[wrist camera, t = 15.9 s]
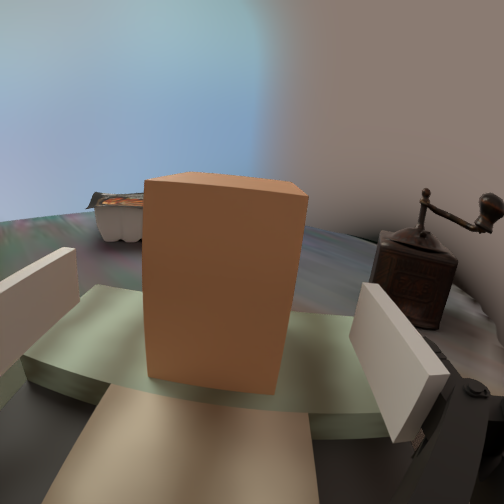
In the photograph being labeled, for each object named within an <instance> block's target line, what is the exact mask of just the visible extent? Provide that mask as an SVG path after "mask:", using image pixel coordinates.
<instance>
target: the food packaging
mask: <svg viewBox="0 0 504 504" xmlns="http://www.w3.org/2000/svg"><path fill="white" fill-rule="evenodd" d="M143 199H144V193H134V194H106V193H98V192H95V193H94V194H93V196H92V199H91V202H90V204H89V206H88V207H87V208H86V209H89V208H94V210H95V217H96V223H97V227H98V230H99V231H100V233H101V236H102V238H103V239H104V241H106V242H115V241H118V240H119V239H122V240H124V241H125V242H137V241H138V240H140V239H142V227H143Z"/></svg>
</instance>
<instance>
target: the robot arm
mask: <svg viewBox="0 0 504 504" xmlns="http://www.w3.org/2000/svg"><path fill="white" fill-rule="evenodd" d="M79 302H80V295H79V286H78V275H77V263H76V249H74V248H67V247H62V248H60V249H58V250H56V251H54V252H53V253H51V254H49V255H47V256H45V257H43V258H41V259H40V260H38V261H36V262H34V263H32V264H30V265H29V266H27V267H25V268H23V269H22V270H20V271H18V272H16V273H14V274H13V275H11V276H9V277H8V278H6V279H4V280H2V281H1V282H0V377H1V376H2V375H3V374H4V373H5V372H6V371H7V370H8V369H9V368H10V367H11V366H12V365H13V364H14V363H15V362H16V361H17V360H18V359H19V358H20V357H21V356H22V355H23V354H24V353H25V352H26V351H27V350H28V349H29V348H30V347H31V346H32V345H33V344H34V343H35V342H36V341H38V340H39V339H40V338H41V337H42V336H43V335H44V334H45V333H46V332H47V331H48V330H49V329H50V328H51V327H53V326H54V325H55V324H56V323H57V322H58V321H59V320H60V319H61V318H62V317H64V316H65V315H66V314H67V313H68V312H69V311H70V310H71V309H72V308H74V307H75V306H76V305H77V304H78V303H79ZM349 339H350V341H351V343H352V346H353V348H354V350H355V352H356V355H357V357H358V359H359V362H360V364H361V366H362V369H363V371H364V373H365V376H366V378H367V380H368V383H369V385H370V388H371V390H372V392H373V395H374V397H375V400H376V402H377V405H378V407H379V409H380V412H381V414H382V417H383V419H384V422H385V424H386V427H387V430H388V432H389V435H390V437H391V440H392V442H393V443H399V442H407V441H413V440H414V439H415V437H416V435H417V434H418V432H419V431H420V429H421V428H422V430H423V432H424V434H425V438H424V439H423V441H422V442H421V444H420V445H419V447H418V448H417V450H416V451H415V452H414V454H413V455H412V457H411V458H412V459H413V460H412V462H411V464H410V466H409V468H408V470H407V472H406V474H405V476H404V478H403V479H402V481H401V483H400V485H399V487H398V488H397V490H396V492H395V493H394V495H393V497H392V499H391V500H390V502H389V503H388V504H469V502H470V504H504V397H503V396H493V395H491V394H490V391H489V390H488V388H487V387H486V386H485V385H483V384H482V383H481V382H479V381H477V380H474V379H470V378H462V377H461V376H460V374H459V373H458V372H457V370H456V369H455V368H454V367H453V365H452V364H451V363H450V361H449V360H447V358H446V356H445V355H444V354H443V353H441V352H442V351H441V350H440V349H439V348H438V346H437V345H436V344H435V343H434V342H432V341H431V340H429V339H428V338H426V337H422V336H421V335H420V334H419V332H418V331H417V330H416V329H415V327H414V326H413V325H412V324H411V323H410V321H409V320H408V319H407V318H406V316H405V315H404V314H403V313H402V312H401V310H400V309H399V308H398V307H397V305H396V304H395V303H394V302H393V301H392V300H391V298H390V297H389V296H388V295H387V294H386V292H385V291H384V290H383V289H382V288H381V287H380V285H379V284H374V283H362V287H361V291H360V295H359V299H358V303H357V307H356V311H355V315H354V319H353V323H352V326H351V330H350V333H349Z"/></svg>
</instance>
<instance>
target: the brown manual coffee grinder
mask: <svg viewBox="0 0 504 504" xmlns="http://www.w3.org/2000/svg"><path fill="white" fill-rule="evenodd" d="M430 195H431V192H430V190H429V189H428V188H424V189H423V190H422V198H421V199H420V203H421V209H420V214H419V220H418V224H417V225H416V226H415V228H411V227H409V228H406V229H402V230H399V231H397V232H395V233H394V232H389V231H384V230H381V233H380V235H379V241H378V245H377V250H376V254H375V258H374V262H373V267H372V271H371V275H370V279H369V283H374V284H379V285H380V287H381V288H382V289H383V290H384V291H385V292H386V294H387V295H388V296H389V297H390V298H391V300H392V301H393V302H394V303H395V304H396V305H397V307H398V308H399V309H400V310H401V312H402V313H403V314H404V315H405V316H406V318H407V319H408V320H409V321H410V323H411V324H412V325H413V326H414V327H420V328H425V329H437V330H438V329H439V324H440V320H441V317H442V314H443V311H444V308H445V305H446V302H447V299H448V296H449V292H450V289H451V286H452V282H453V279H454V275H455V271H456V268H457V265H458V260H457V258H456V257H455V256H454V255H453V254H452V253H451V252H450V251H449V250H448V249H447V248H446V247H445V246H444V245H442V244H440V242H439V240H438V239H437V238H436V237H435V236H434V235H433V234H432V233H430V232H428V231H425V228H424V221H425V216H426V211H427V207H428V208H429V209H430V210H431V211H433V212H434V213H435V214H437V215H439V216H442V217H444V218H446V219H449V220H451V221H452V222H455V223H457V224H459V225H460V226H462V227H464V228H466V229H468V230H470V231H472V232H479V234H481V233H485V232H488V233H490V234H491V233H492V228H493V224H494V223H495V222H496V221H497V220H499V219H500V218H502V217H503V216H504V202H503V200H502V199H501V198H499V197H498V196H496V195H494V194H493V193H486V194H483V195H482V196H481V197H480V199H479V207H480V216H479V217H478V218H477V219H476V220H475V222H474V223H475V225H476V226H475V225H472V224H470V223H468V222H466V221H463V220H462V219H460V218H458V217H456V216H454V215H452V214H450V213H448V212H446V211H443V210H441V209H438V208H437V207H435V206H433V205H431V204H430V200H429V197H430Z"/></svg>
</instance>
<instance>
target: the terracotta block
mask: <svg viewBox="0 0 504 504" xmlns="http://www.w3.org/2000/svg"><path fill="white" fill-rule="evenodd" d="M308 198H309V196H308V195H307V194H305V193H304V192H303V191H302V190H301V189H299V188H298V187H297V186H296V185H295V184H293V183H292V182H286V181H279V180H271V179H263V178H254V177H245V176H235V175H224V174H214V173H201V172H185V173H180V174H174V175H169V176H163V177H158V178H152V179H147V180H145V182H144V199H143V227H142V289H143V317H144V335H145V350H146V362H147V373H148V377H151V378H156V379H161V380H166V381H171V382H177V383H182V384H188V385H194V386H200V387H207V388H214V389H221V390H228V391H236V392H245V393H255V394H265V395H274V394H275V389H276V384H277V380H278V375H279V370H280V365H281V360H282V355H283V350H284V344H285V339H286V334H287V328H288V323H289V318H290V312H291V306H292V301H293V295H294V289H295V283H296V277H297V271H298V265H299V259H300V253H301V246H302V240H303V233H304V226H305V220H306V212H307V206H308Z"/></svg>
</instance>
